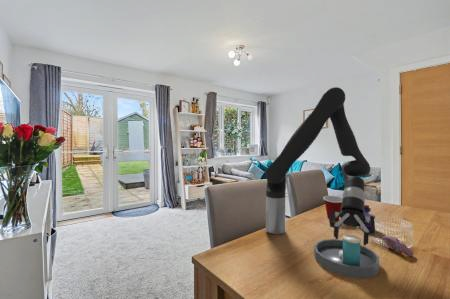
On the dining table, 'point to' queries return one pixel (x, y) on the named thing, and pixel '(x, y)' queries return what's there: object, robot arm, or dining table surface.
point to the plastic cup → (333, 205)
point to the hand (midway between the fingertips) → (350, 241)
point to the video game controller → (397, 245)
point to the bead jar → (351, 250)
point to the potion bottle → (366, 213)
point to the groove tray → (333, 258)
